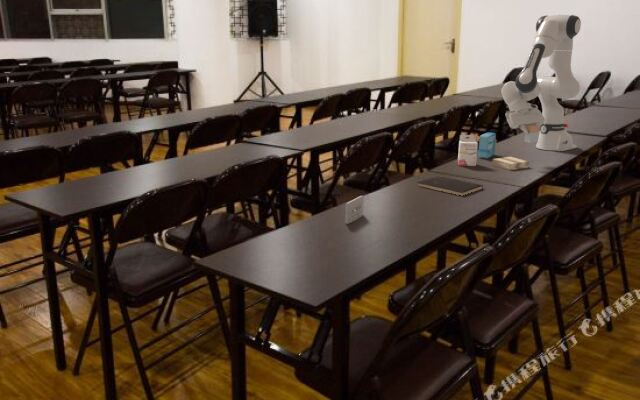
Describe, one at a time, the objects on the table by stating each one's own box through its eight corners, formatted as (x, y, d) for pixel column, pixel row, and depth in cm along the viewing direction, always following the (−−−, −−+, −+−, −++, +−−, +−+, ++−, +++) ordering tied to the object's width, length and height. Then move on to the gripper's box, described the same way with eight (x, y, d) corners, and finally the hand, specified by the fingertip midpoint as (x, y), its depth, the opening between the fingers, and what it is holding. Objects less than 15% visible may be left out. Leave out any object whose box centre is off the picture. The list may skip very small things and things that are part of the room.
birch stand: (511, 162, 297) (511, 156, 296) (528, 167, 286) (528, 161, 285) (492, 164, 292) (492, 159, 291) (509, 170, 282) (509, 164, 281)
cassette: (360, 214, 221) (360, 195, 219) (364, 215, 220) (364, 195, 218) (344, 223, 212) (344, 203, 209) (348, 224, 211) (348, 204, 208)
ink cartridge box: (458, 165, 291) (460, 136, 287) (457, 163, 296) (459, 134, 291) (476, 166, 290) (478, 136, 286) (474, 163, 295) (476, 134, 290)
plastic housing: (532, 140, 294) (533, 124, 291) (537, 142, 290) (539, 126, 288) (524, 141, 292) (525, 125, 289) (530, 143, 288) (531, 127, 286)
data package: (486, 159, 304) (488, 136, 300) (478, 158, 306) (479, 135, 303) (494, 154, 313) (496, 132, 310) (486, 153, 316) (488, 131, 312)
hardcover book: (462, 197, 242) (462, 192, 241) (417, 187, 258) (417, 182, 257) (482, 189, 252) (483, 184, 252) (438, 180, 268) (438, 175, 268)
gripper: (507, 108, 288) (520, 131, 282) (539, 104, 296) (552, 127, 290) (500, 116, 293) (512, 138, 287) (532, 112, 301) (544, 134, 295)
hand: (532, 132), depth 289 cm, fingers closed on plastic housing, 5 cm apart
